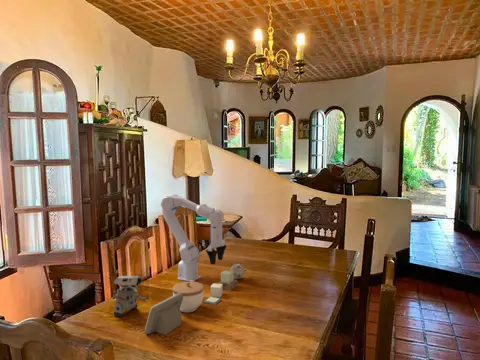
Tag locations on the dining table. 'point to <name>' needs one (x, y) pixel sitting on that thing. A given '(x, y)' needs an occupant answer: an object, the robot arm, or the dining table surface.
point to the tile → (212, 300)
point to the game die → (238, 271)
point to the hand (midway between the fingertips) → (216, 261)
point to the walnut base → (228, 285)
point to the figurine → (126, 294)
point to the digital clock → (165, 315)
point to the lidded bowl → (189, 295)
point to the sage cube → (227, 276)
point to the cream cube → (216, 290)
